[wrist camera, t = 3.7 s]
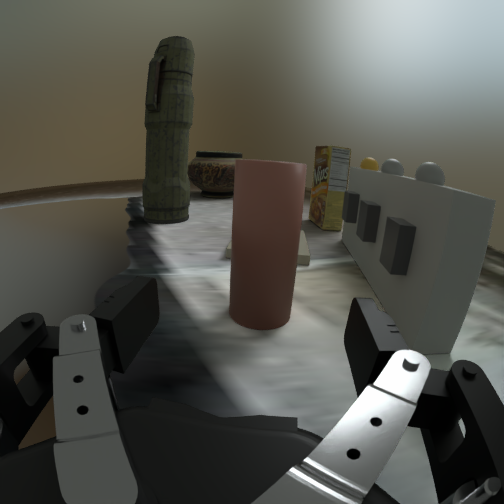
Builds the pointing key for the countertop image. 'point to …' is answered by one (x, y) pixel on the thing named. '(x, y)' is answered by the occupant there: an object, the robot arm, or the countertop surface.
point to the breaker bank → (417, 247)
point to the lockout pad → (302, 252)
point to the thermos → (168, 132)
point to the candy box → (329, 186)
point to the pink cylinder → (265, 241)
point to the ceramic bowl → (214, 173)
